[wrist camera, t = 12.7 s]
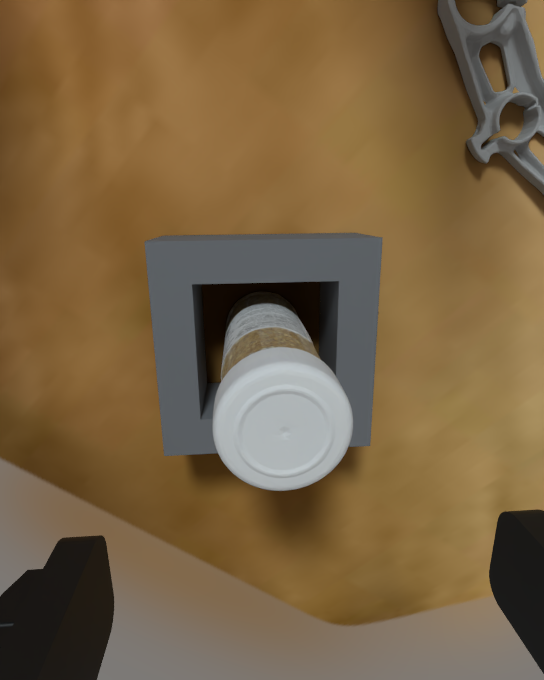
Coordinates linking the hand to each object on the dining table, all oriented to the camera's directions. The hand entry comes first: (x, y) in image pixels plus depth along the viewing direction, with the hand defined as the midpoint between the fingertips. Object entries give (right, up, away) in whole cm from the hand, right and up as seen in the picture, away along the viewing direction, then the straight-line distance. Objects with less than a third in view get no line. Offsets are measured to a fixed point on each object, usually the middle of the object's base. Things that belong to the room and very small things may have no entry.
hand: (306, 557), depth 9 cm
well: (-1, +5, +18) cm, 18 cm away
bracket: (+13, +18, +16) cm, 27 cm away
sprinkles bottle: (-1, +5, +18) cm, 19 cm away
